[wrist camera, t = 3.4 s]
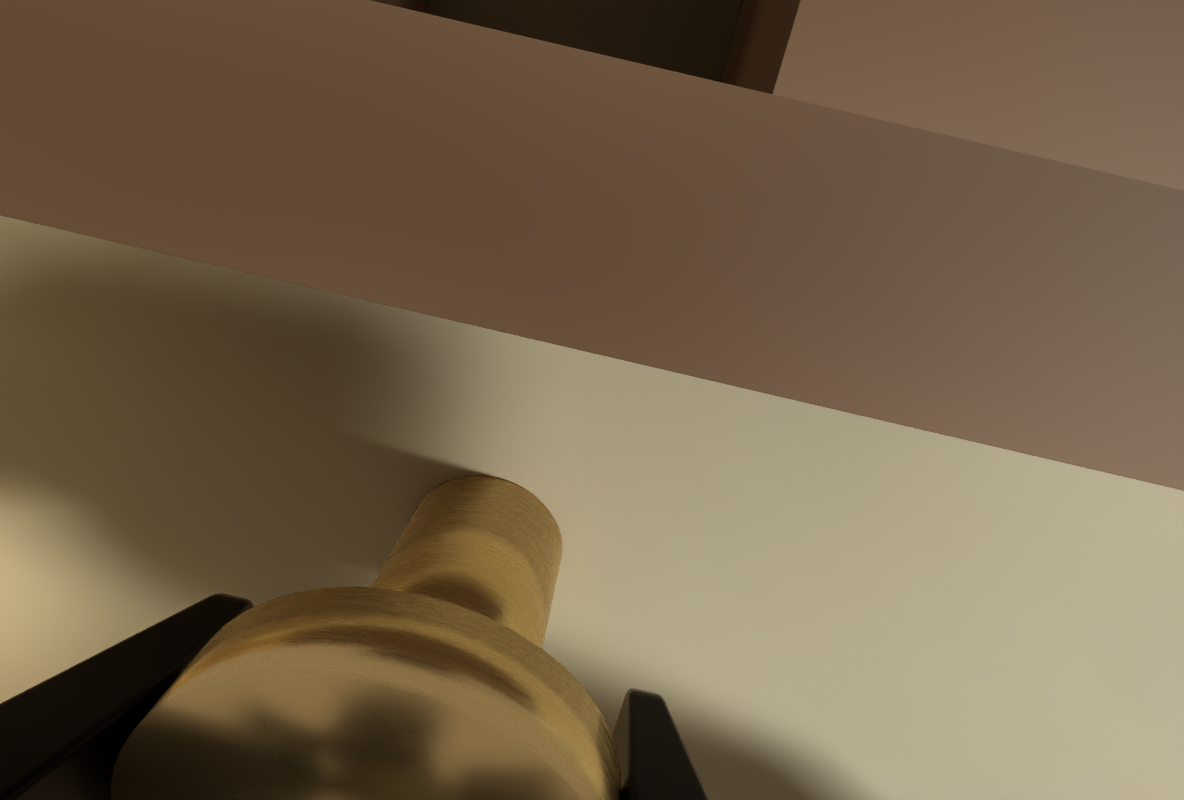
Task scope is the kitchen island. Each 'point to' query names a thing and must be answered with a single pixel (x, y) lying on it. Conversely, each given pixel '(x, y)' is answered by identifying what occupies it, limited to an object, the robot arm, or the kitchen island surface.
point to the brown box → (671, 191)
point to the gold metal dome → (391, 680)
